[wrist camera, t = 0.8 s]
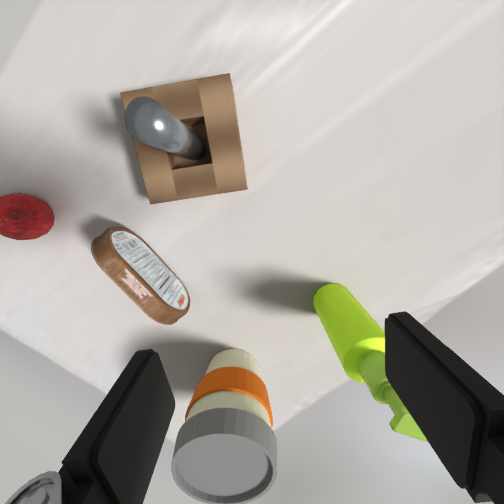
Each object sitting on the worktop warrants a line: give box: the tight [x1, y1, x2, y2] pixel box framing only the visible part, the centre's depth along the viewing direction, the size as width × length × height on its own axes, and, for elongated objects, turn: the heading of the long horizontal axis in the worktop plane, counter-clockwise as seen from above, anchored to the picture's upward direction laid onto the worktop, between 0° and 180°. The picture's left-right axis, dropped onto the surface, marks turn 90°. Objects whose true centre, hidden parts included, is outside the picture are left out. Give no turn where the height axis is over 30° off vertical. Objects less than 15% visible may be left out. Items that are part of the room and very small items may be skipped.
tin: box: [91, 227, 190, 325], centre depth 31 cm, size 15×3×8 cm, turn 37°
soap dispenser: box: [313, 283, 428, 442], centre depth 27 cm, size 6×7×20 cm
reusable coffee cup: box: [171, 349, 277, 504], centre depth 34 cm, size 12×13×15 cm
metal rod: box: [125, 96, 206, 160], centre depth 23 cm, size 3×3×14 cm
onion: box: [0, 193, 55, 240], centre depth 29 cm, size 6×6×8 cm
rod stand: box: [120, 73, 248, 204], centre depth 29 cm, size 12×12×4 cm
